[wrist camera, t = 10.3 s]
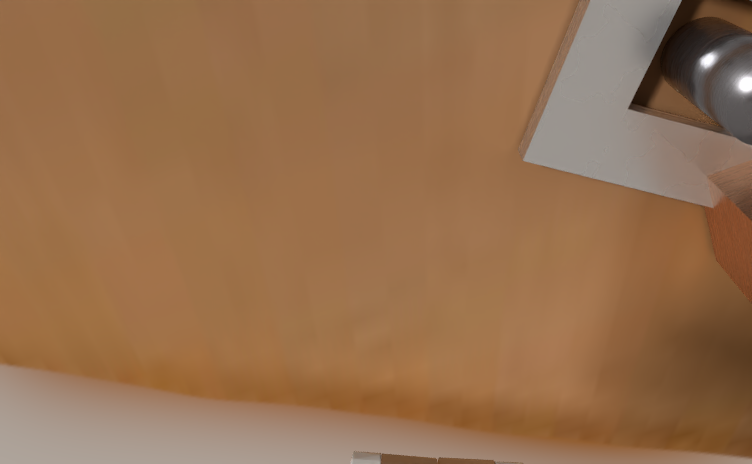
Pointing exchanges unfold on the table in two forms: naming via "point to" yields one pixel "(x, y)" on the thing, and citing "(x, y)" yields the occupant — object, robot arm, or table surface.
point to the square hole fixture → (639, 126)
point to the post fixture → (713, 71)
